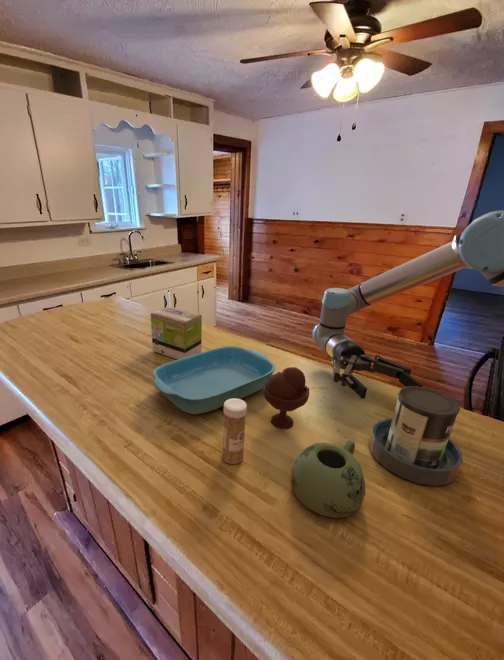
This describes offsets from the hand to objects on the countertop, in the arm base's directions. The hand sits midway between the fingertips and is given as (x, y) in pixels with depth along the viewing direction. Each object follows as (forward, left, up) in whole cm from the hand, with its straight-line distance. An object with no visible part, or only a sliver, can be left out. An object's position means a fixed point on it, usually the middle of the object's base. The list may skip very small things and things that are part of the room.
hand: (392, 392), depth 76 cm
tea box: (+61, -29, -10) cm, 68 cm away
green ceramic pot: (+15, +22, -10) cm, 28 cm away
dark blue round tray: (-3, +9, -10) cm, 14 cm away
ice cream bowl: (+24, +3, -10) cm, 26 cm away
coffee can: (-3, +9, -10) cm, 14 cm away
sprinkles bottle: (+34, +18, -10) cm, 39 cm away
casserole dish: (+43, -8, -10) cm, 45 cm away
